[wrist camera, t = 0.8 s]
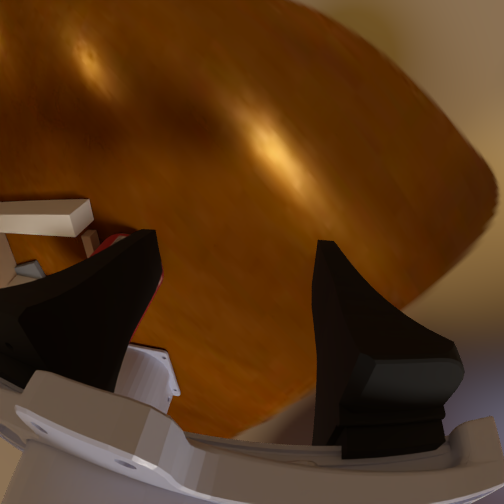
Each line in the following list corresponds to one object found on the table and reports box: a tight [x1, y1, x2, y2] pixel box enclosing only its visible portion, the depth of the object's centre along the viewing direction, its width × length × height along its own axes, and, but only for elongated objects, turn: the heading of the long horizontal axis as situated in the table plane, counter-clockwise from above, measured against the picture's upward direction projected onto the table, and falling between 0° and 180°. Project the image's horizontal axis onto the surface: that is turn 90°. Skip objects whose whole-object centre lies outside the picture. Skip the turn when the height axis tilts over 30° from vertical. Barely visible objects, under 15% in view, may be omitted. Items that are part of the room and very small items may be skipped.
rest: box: [0, 199, 100, 288], centre depth 26 cm, size 12×16×4 cm
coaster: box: [14, 260, 46, 279], centre depth 31 cm, size 9×9×1 cm
